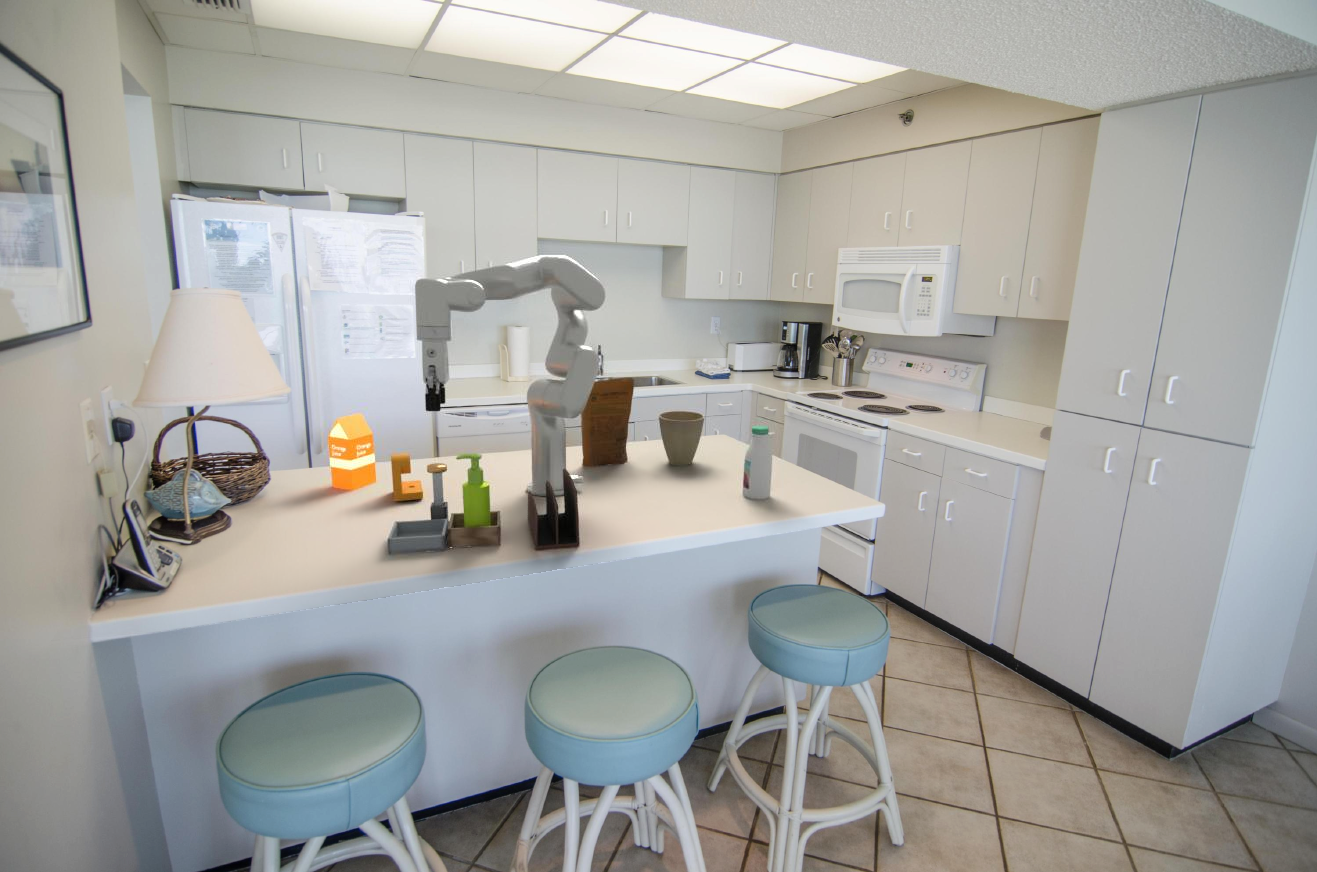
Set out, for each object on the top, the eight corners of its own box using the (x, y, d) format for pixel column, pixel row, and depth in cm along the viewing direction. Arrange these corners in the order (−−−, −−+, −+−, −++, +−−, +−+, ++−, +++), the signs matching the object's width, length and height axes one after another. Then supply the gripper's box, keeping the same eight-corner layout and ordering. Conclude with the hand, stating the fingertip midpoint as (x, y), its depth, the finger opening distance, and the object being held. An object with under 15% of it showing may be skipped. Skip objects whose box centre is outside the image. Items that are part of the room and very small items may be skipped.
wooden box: (500, 528, 162) (500, 510, 161) (500, 545, 152) (500, 526, 151) (452, 531, 159) (451, 513, 158) (449, 548, 150) (448, 529, 149)
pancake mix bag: (637, 463, 220) (639, 378, 213) (583, 470, 211) (583, 381, 204) (628, 458, 226) (629, 375, 219) (575, 464, 216) (575, 378, 210)
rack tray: (448, 532, 158) (447, 518, 158) (445, 550, 148) (444, 535, 147) (396, 535, 156) (395, 521, 155) (388, 554, 146) (387, 539, 145)
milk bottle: (773, 494, 192) (777, 426, 187) (765, 502, 185) (770, 431, 181) (747, 490, 195) (751, 422, 190) (738, 497, 188) (742, 428, 184)
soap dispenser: (463, 533, 158) (459, 451, 153) (493, 533, 159) (490, 451, 154) (458, 543, 153) (453, 458, 148) (489, 542, 153) (485, 458, 148)
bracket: (423, 501, 179) (420, 458, 176) (394, 504, 177) (391, 460, 174) (421, 489, 189) (418, 448, 186) (393, 491, 186) (390, 450, 183)
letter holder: (567, 517, 171) (566, 463, 167) (579, 547, 152) (579, 488, 149) (527, 520, 168) (526, 466, 165) (535, 551, 150) (534, 491, 146)
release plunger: (449, 512, 163) (447, 462, 160) (448, 519, 159) (445, 468, 156) (430, 513, 162) (427, 463, 159) (429, 520, 158) (425, 468, 155)
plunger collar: (451, 523, 164) (450, 500, 162) (450, 531, 159) (449, 507, 158) (430, 525, 163) (429, 501, 161) (428, 532, 158) (426, 508, 157)
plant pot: (660, 455, 230) (661, 409, 226) (704, 458, 228) (706, 412, 224) (654, 467, 215) (655, 419, 212) (700, 470, 213) (702, 421, 210)
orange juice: (331, 486, 189) (325, 417, 184) (356, 478, 197) (350, 411, 192) (353, 490, 186) (347, 420, 181) (377, 482, 194) (371, 414, 189)
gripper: (446, 337, 147) (448, 414, 151) (454, 331, 163) (456, 401, 167) (410, 336, 145) (413, 414, 149) (422, 330, 162) (424, 400, 166)
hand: (435, 407), depth 158 cm, fingers open, 9 cm apart
